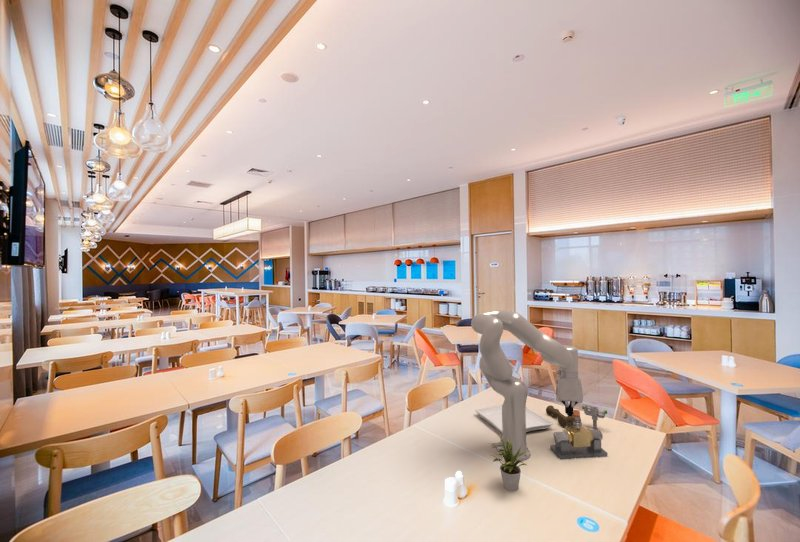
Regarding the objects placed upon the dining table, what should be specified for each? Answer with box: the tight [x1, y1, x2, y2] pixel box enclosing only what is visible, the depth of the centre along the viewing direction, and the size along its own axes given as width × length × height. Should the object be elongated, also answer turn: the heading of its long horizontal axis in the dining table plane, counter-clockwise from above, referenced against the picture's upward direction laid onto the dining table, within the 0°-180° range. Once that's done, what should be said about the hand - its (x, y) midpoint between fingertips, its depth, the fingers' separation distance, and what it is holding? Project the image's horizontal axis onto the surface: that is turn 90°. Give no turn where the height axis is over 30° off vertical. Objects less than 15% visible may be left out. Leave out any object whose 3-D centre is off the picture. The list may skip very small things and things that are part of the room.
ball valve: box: [549, 424, 608, 460], centre depth 141 cm, size 20×8×11 cm, turn 94°
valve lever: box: [572, 409, 583, 427], centre depth 146 cm, size 14×3×2 cm, turn 154°
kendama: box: [545, 404, 582, 428], centre depth 169 cm, size 6×10×20 cm
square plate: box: [474, 404, 554, 434], centre depth 170 cm, size 27×27×4 cm
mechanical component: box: [581, 404, 608, 430], centre depth 162 cm, size 3×10×10 cm, turn 53°
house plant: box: [488, 434, 528, 492], centre depth 122 cm, size 14×14×16 cm
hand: (569, 415), depth 151 cm, fingers closed
